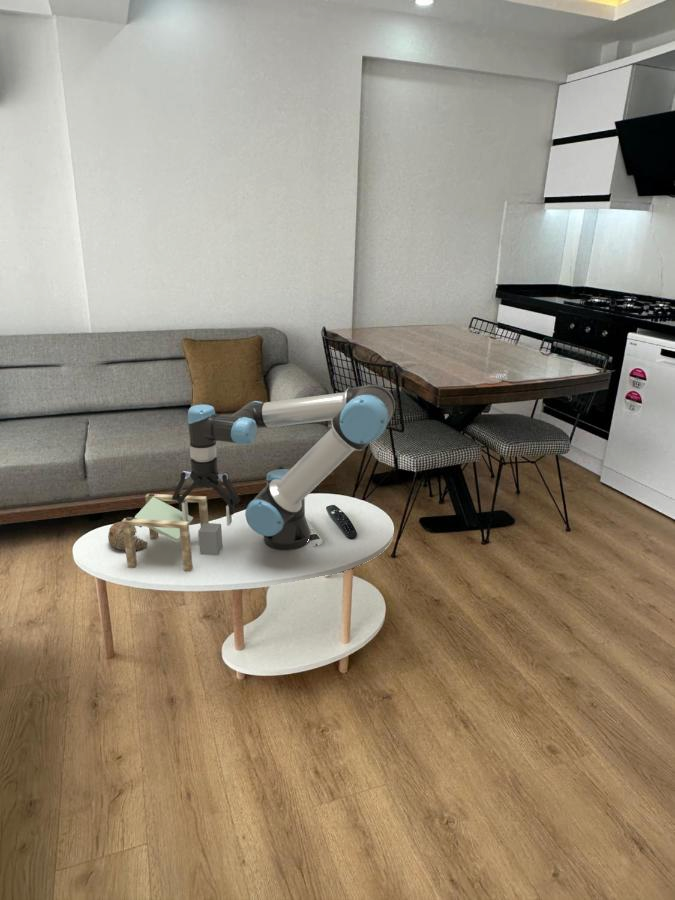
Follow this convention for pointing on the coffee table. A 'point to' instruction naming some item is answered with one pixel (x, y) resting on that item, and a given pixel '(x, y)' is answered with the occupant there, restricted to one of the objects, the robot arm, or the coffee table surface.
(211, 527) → the grey rectangular block
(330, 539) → the coffee table surface
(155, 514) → the trapdoor
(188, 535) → the frame
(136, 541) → the seashell
